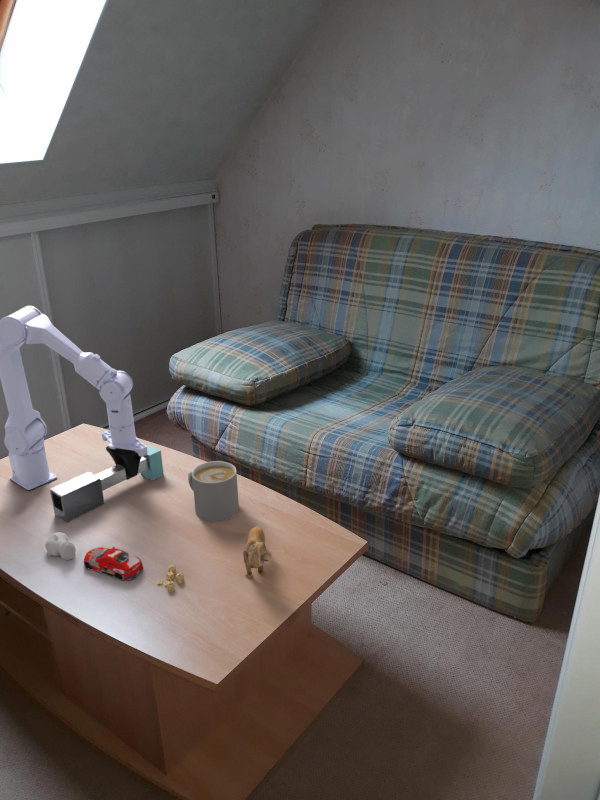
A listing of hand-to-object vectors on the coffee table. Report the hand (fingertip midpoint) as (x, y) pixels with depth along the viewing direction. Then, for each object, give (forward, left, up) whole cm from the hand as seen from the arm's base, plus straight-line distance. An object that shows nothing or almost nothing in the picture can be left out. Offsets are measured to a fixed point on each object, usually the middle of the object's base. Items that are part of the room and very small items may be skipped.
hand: (128, 473), depth 161 cm
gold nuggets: (+37, -17, -4) cm, 41 cm away
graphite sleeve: (0, -14, -3) cm, 14 cm away
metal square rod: (0, -4, -1) cm, 4 cm away
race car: (+24, -22, -4) cm, 32 cm away
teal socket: (0, +7, -3) cm, 8 cm away
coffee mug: (+23, +7, -4) cm, 24 cm away
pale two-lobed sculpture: (+12, -26, -4) cm, 29 cm away
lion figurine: (+46, -3, -4) cm, 46 cm away
